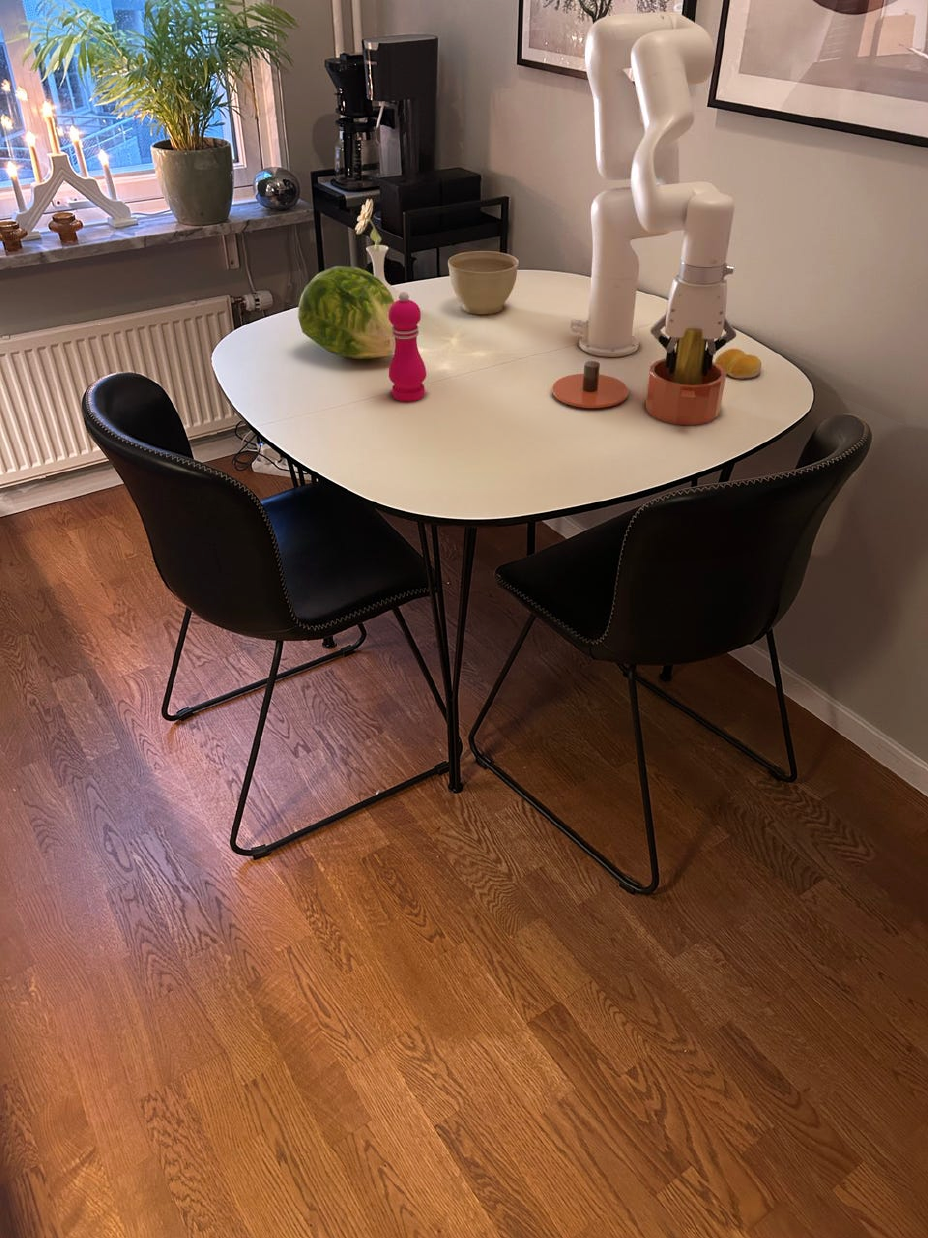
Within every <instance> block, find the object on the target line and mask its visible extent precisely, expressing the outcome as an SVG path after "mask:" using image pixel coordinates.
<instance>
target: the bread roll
mask: <svg viewBox="0 0 928 1238" xmlns="http://www.w3.org/2000/svg"><path fill="white" fill-rule="evenodd" d="M714 363H716V364H719V365H720V366H721V367H722V368H723V369H724V370H725V373H726V375H728V376H729V377H731V378H733V379H738V380H739V379H741V380H743V379H751V378H755V377H757V376H758V375H759V374H760V373H761V369H762V361H761V359H760V358H759V357H757V356H756V355H753V354H748V353H747V354H746V352H744V351H743V350H741V349H738V348H730V349H726V350H725V351H723V352H722V353H720V354H719V355H718V356H716V358H715V361H714Z"/></svg>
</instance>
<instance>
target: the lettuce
mask: <svg viewBox="0 0 928 1238" xmlns="http://www.w3.org/2000/svg"><path fill="white" fill-rule="evenodd" d="M393 303H394V299H393V297H392V295H391V293H390V292H389V290H388V289H387V288H386V286H385V285H384V284H383V283H382V282H381V281H380V280H379V279H378V278H376V277H375V276H374V273H372V272H371V273H370V272H369V271H368V270H365V269H362V268H360V267H357V266H347V265H346V266H345V265H335V266H333V267H330V268H327V269H325V270H323V271H320V272H319V273H317V274H316V275H315V276H314V277H313V278H312V279H311V280H310V282H309V283H308V284H307V285H305V287H304V289H303V291H302V293H301V295H300V298H299V302H298V308H297V319H298V322H299V326H300V329H301V332H302V333H303V334H304V335H305V336H306V337H307V338H309V339H310V340H312V341H313V342H315V343H316V344H317V345H319V346H320V347H321V348H323V349H324V350H325V351H328V352H330V353H331V354H334V355H338V356H341V357H344V358H348V359H351V360H367V359H368V360H369V359H370V360H371V359H375V358H382V357H388V356H391V355H392V354H393V355H394V352H395V337H394V336H393V335H392V332H393V331H392V327H393V325H392V324H391V322H390V321H389V317H388V313H389V308H390V306H391V305H392V304H393Z"/></svg>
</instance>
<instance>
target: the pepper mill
mask: <svg viewBox="0 0 928 1238" xmlns="http://www.w3.org/2000/svg"><path fill="white" fill-rule="evenodd" d="M409 298H410V297H409V294H408V293H407V292H405V291H400V294H399V299H400V300H398V301H396V302H394V303H393V304H392V305H391V306H390V308H389V313H388V317H389V321H390V322H391V324H392V325H393V327H392V331H393V332H392V335H393V336H394V337H395V352H394V353H393V356H392V359H391V361H390V364H389V368H388V378H389V381H390V382H391V383H392V384H393V385H392V386H391V391H392V392H391V393H392V397H393V398H394V399H395V400H397V401H400V402H415V401H418V400H419V401H420V400H421V399H423V398H424V396H425V395H426V394H425V384H424V381H425V380H426V378H427V369H426V365H425V362H424V360H423V358H422V355H421V353H420V352H419V348H418V341H417V339H418V338H417V337H418V336H419V334H420V332H419V328H420V327H419V325H418V324H419V322H420V321H421V318H422V313H421V308H420V307H419V305H418V304H417V303H416V302H415V301H413V300H411V299H409Z"/></svg>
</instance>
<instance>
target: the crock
mask: <svg viewBox="0 0 928 1238" xmlns="http://www.w3.org/2000/svg"><path fill="white" fill-rule="evenodd" d="M665 362H666V357H665V358H662V359H658V360H655V361H654V362H653V363H652V364H651V365H650V366H649V375H648V383H647V391H646V400H645V410H646V412H647V413H648V414H649V415H650V416H652V417H653V418H655V419H657V420H659V421H662V422H663V423H669V424H673V425H679V426H696V425H703V424H706V423H709V422H712V421H714V420H715V419H716V418H718V416H719V414H720V412H721V408H722V402H723V395H724V391H725V385H726V378H727V374H726V373H725V370H724V369H723V368H722V367H721V366H720V365H719V364H716V363H715V361H713V362H712V368H711V370H708V371H707V376H704V375H702V384H700V385H684V384H678V383H673V382H671V375H672V373H671V374H669V372H668V368H666V367H665Z"/></svg>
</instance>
